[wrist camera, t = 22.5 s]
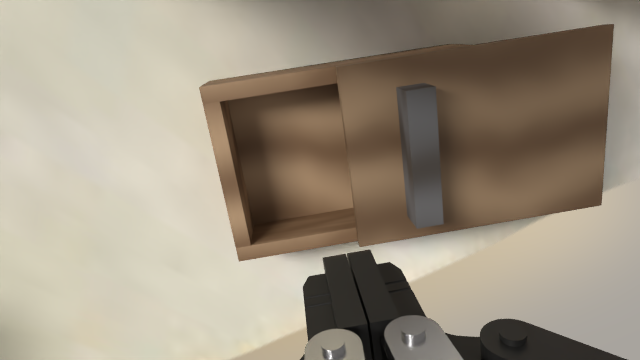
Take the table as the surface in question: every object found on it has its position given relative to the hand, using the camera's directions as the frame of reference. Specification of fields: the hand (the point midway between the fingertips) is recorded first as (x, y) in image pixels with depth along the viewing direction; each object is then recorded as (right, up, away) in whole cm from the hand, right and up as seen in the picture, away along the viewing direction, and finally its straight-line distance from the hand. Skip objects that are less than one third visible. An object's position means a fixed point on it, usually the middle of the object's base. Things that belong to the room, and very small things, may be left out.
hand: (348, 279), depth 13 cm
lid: (+11, +6, +20) cm, 24 cm away
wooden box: (+1, +6, +24) cm, 25 cm away
